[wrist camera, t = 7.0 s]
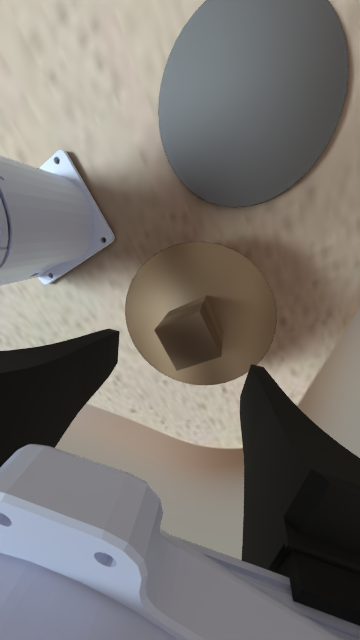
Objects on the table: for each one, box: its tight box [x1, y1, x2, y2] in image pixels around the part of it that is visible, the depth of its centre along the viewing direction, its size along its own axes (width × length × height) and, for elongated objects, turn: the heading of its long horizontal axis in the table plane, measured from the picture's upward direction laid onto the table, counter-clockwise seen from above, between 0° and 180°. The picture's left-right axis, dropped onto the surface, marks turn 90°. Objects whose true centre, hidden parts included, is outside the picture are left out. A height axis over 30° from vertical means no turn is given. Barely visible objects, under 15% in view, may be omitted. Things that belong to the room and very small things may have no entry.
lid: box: [125, 242, 277, 385], centre depth 15 cm, size 11×11×4 cm
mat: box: [158, 0, 349, 207], centre depth 15 cm, size 12×12×1 cm
